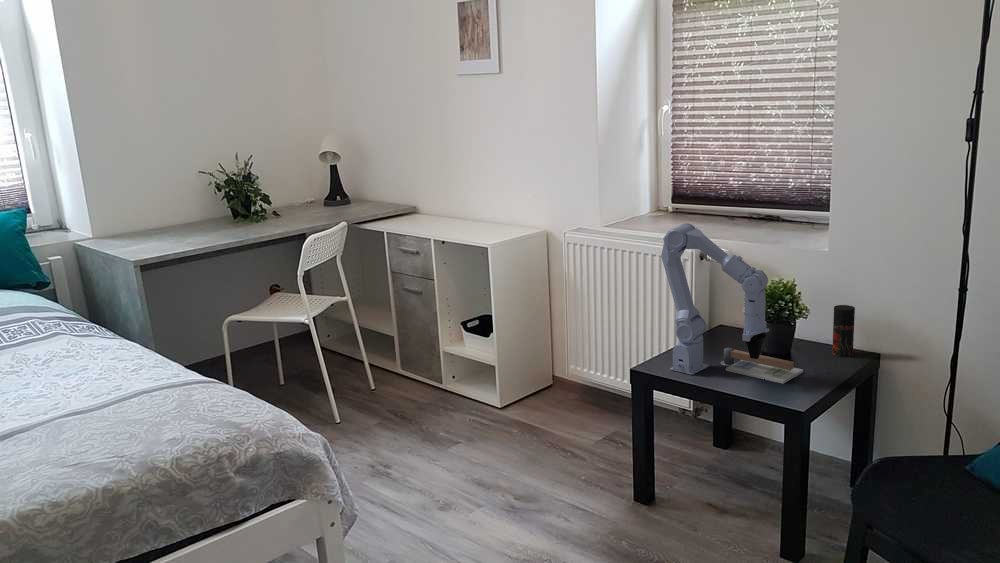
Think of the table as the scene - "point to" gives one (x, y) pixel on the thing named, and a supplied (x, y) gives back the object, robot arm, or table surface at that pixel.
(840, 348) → the deodorant
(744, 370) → the label panel
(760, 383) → the table surface
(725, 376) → the table surface
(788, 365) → the swing bar
